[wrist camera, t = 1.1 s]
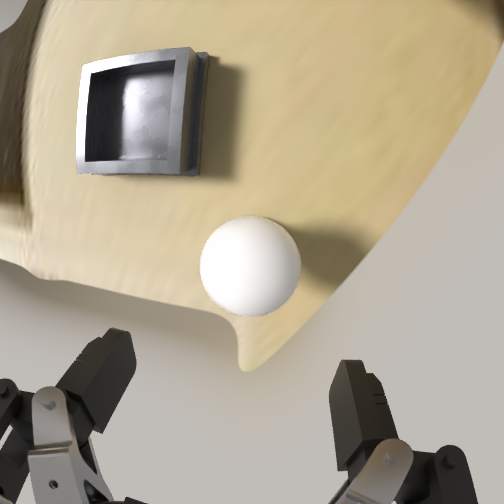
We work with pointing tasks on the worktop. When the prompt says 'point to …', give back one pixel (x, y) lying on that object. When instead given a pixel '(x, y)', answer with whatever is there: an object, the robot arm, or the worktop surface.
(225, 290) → the lightbulb
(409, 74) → the worktop surface
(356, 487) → the robot arm
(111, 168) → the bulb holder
